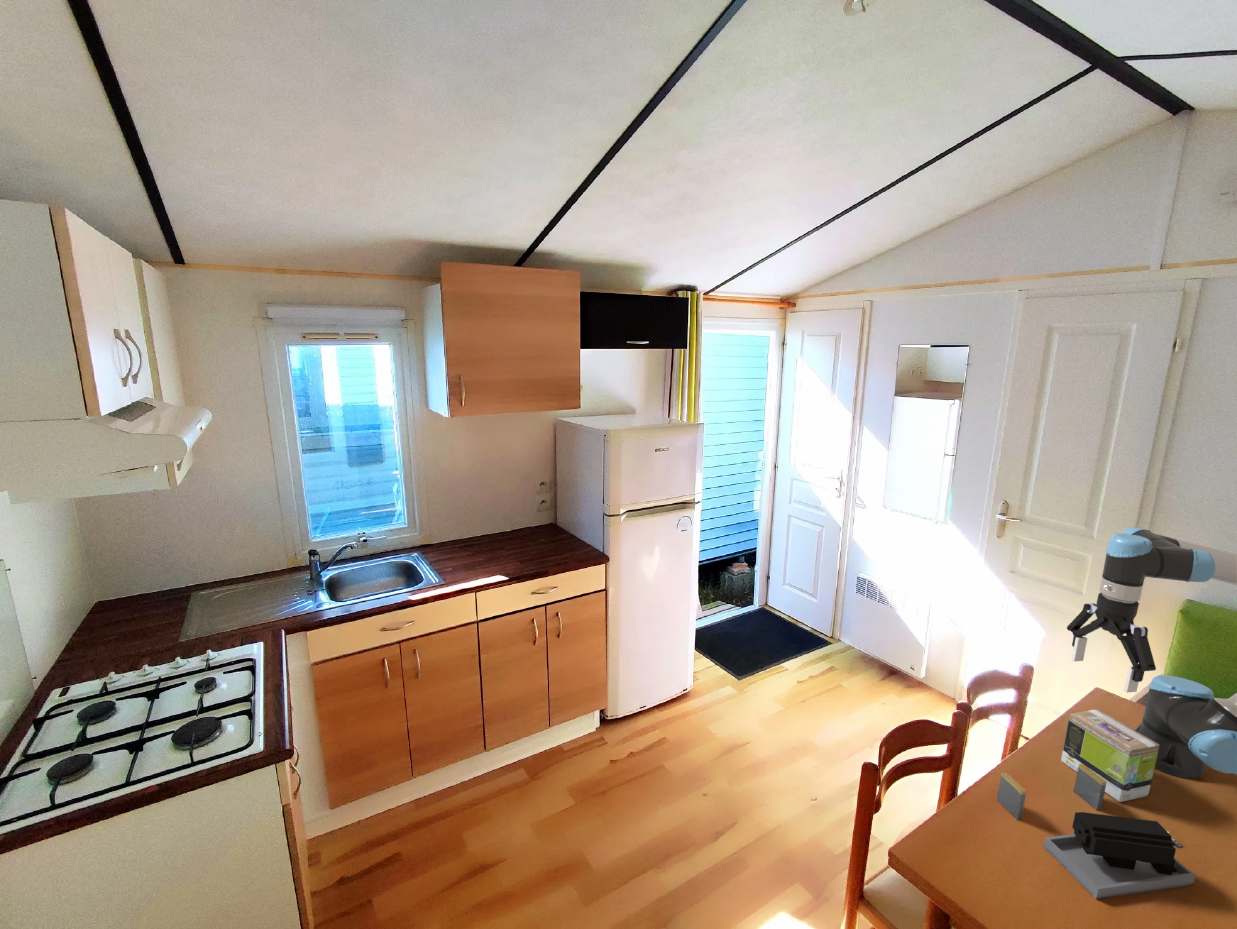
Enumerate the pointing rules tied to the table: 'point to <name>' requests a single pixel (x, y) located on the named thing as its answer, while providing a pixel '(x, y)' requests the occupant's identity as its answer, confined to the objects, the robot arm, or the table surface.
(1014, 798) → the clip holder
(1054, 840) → the tray
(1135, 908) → the table surface
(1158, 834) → the security camera
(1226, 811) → the table surface
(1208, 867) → the table surface
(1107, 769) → the tea box
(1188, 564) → the robot arm
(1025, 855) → the table surface
